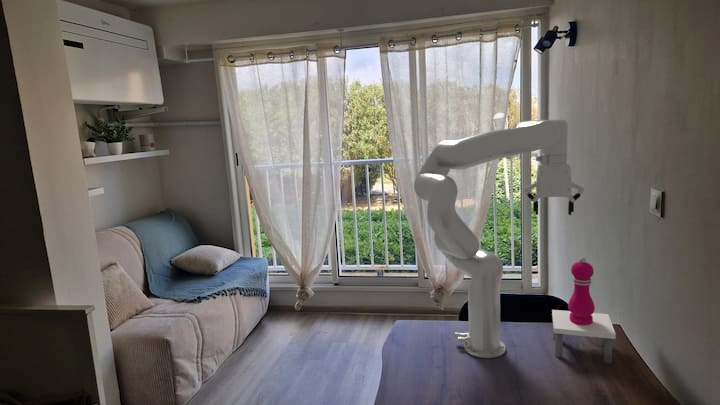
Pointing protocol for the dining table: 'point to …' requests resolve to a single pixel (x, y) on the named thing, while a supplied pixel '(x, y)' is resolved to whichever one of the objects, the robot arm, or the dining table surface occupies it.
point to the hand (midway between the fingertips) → (553, 214)
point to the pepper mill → (581, 294)
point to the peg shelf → (583, 331)
